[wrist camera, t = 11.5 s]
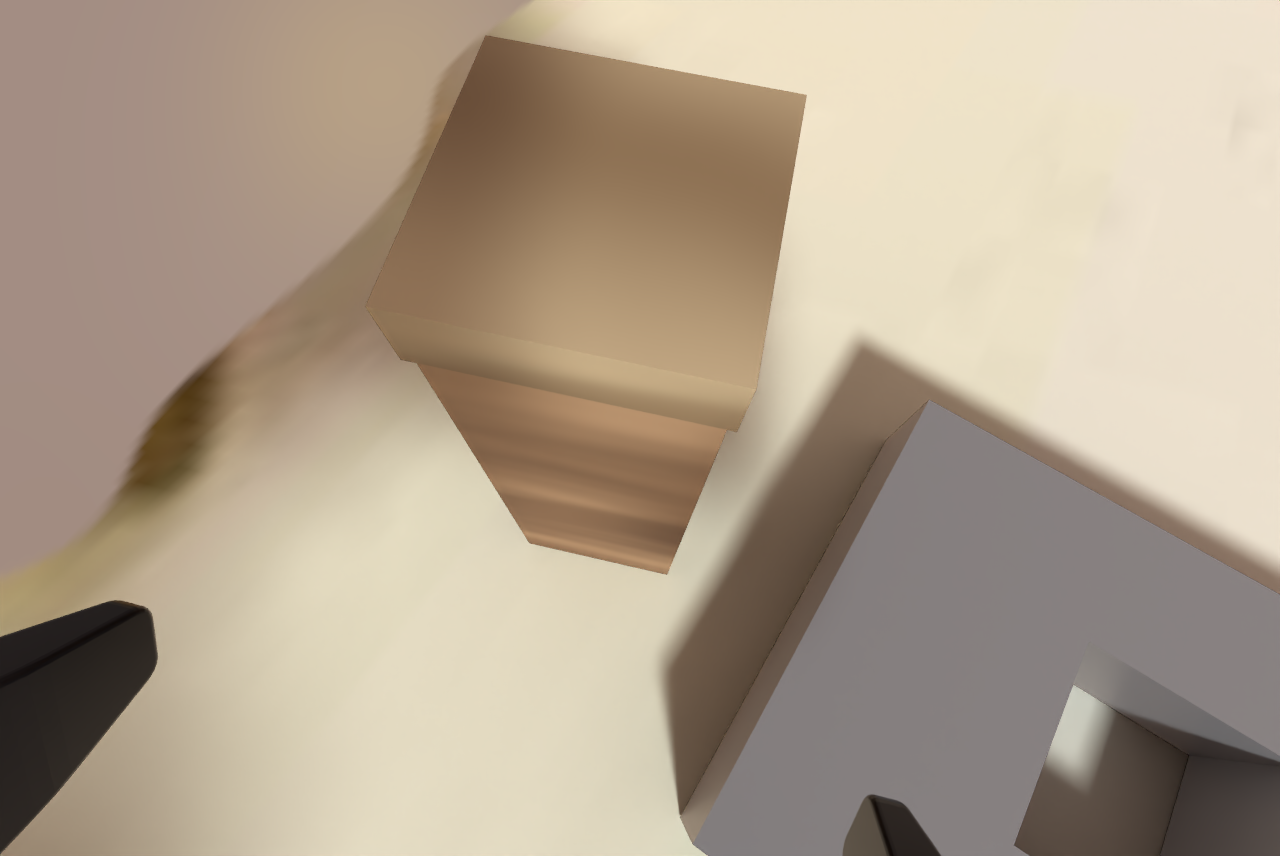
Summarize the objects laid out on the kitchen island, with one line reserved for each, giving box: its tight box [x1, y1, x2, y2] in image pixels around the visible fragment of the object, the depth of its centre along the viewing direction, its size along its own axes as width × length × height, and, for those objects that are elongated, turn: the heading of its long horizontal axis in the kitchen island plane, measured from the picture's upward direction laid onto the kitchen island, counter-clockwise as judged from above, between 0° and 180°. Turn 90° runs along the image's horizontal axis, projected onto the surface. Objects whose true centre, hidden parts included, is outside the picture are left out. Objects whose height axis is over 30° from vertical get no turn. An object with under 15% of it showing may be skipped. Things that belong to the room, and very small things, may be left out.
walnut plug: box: [365, 36, 807, 574], centre depth 13 cm, size 4×4×12 cm
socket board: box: [680, 400, 1280, 856], centre depth 15 cm, size 12×16×3 cm
